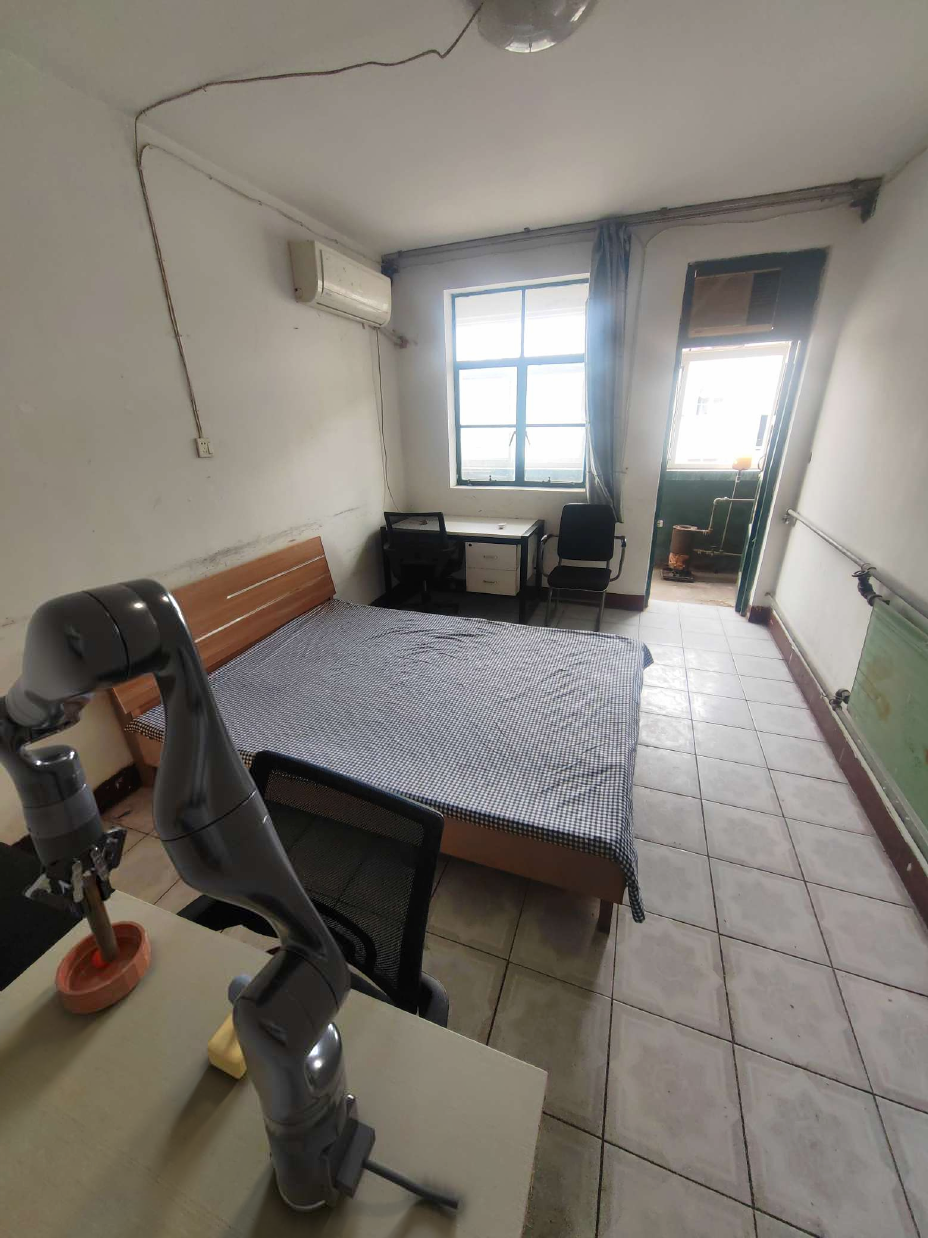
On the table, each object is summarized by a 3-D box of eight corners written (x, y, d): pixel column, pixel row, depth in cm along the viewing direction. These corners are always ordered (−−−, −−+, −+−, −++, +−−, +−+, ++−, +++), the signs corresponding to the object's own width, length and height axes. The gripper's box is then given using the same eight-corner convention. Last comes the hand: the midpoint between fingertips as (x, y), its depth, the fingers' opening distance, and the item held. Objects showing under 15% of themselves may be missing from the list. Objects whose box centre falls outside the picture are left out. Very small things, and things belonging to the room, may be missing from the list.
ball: (120, 957, 81) (116, 945, 80) (102, 975, 78) (98, 962, 77) (107, 952, 82) (103, 939, 81) (90, 968, 79) (85, 956, 78)
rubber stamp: (240, 1081, 66) (226, 1025, 62) (209, 1063, 68) (194, 1008, 64) (288, 1007, 74) (279, 954, 70) (259, 993, 76) (249, 941, 72)
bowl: (168, 954, 82) (162, 933, 81) (98, 1028, 72) (89, 1007, 70) (119, 932, 86) (112, 912, 84) (46, 1000, 75) (36, 978, 74)
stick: (123, 951, 77) (99, 877, 71) (108, 965, 74) (82, 890, 69) (113, 946, 77) (88, 873, 72) (98, 960, 75) (71, 885, 70)
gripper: (23, 861, 59) (61, 957, 65) (129, 791, 72) (153, 877, 77) (-14, 845, 61) (26, 939, 67) (95, 780, 74) (121, 864, 80)
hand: (94, 905), depth 72 cm, fingers closed on stick, 2 cm apart
